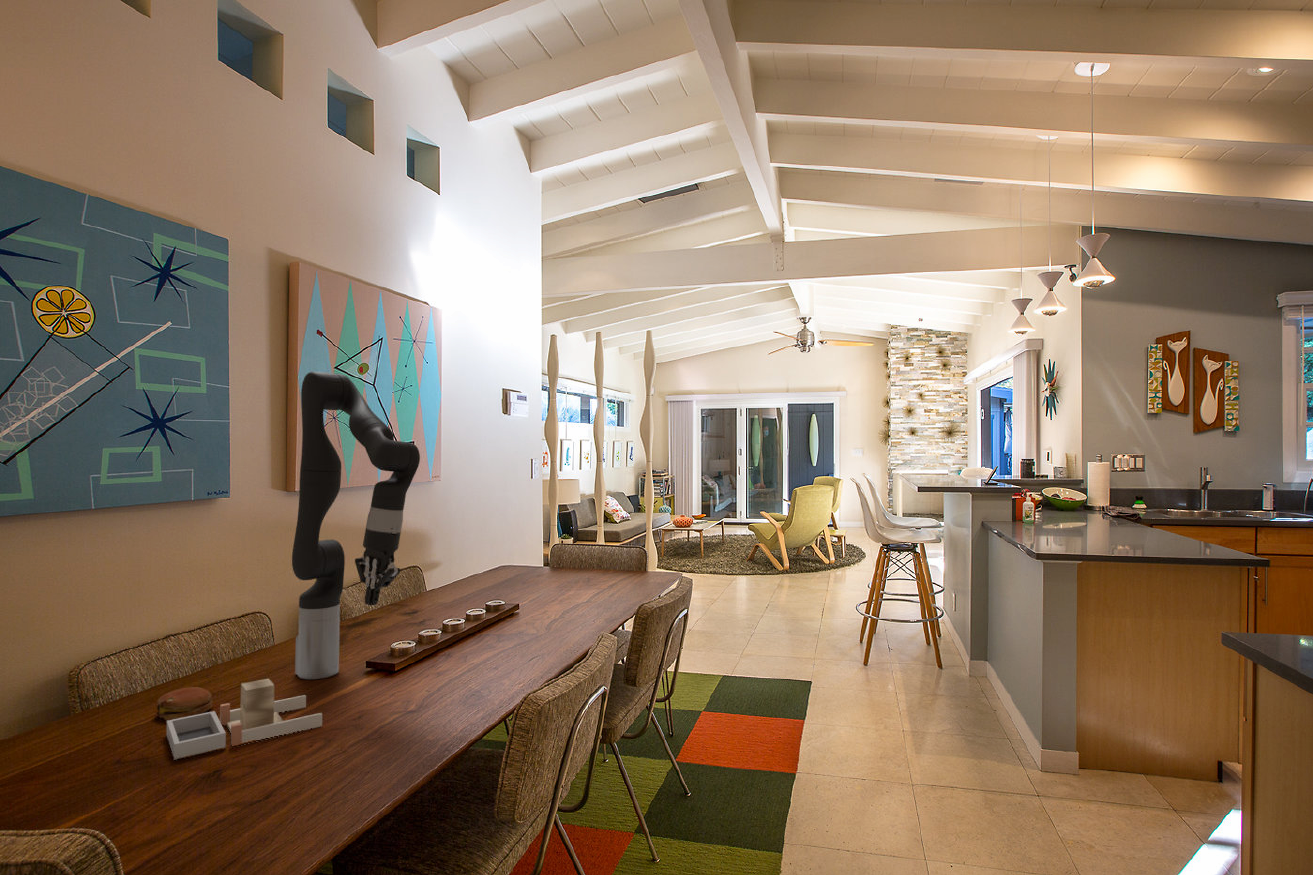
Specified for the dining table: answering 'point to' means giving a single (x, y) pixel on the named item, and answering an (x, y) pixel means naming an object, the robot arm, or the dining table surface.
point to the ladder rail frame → (270, 729)
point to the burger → (184, 703)
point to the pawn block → (257, 705)
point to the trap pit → (195, 734)
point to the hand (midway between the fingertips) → (370, 604)
